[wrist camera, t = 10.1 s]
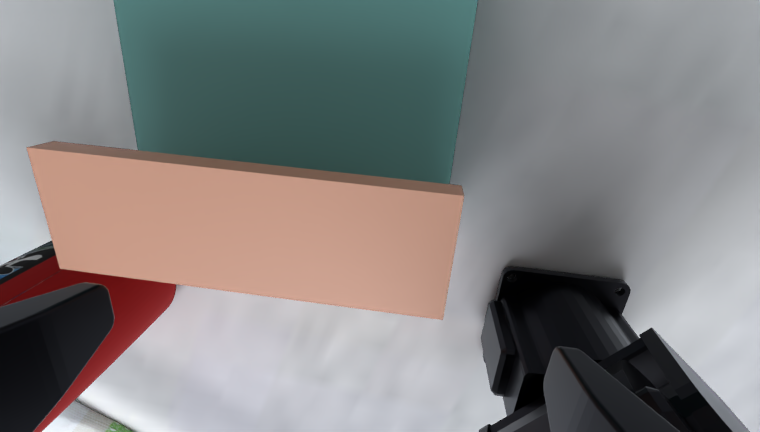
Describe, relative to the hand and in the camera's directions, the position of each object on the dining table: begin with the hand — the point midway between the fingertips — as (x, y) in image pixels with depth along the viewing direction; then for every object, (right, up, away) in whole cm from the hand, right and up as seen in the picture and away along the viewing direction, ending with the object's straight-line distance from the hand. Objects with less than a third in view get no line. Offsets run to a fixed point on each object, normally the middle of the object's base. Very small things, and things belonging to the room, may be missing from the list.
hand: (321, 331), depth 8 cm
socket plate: (-2, +11, +10) cm, 15 cm away
